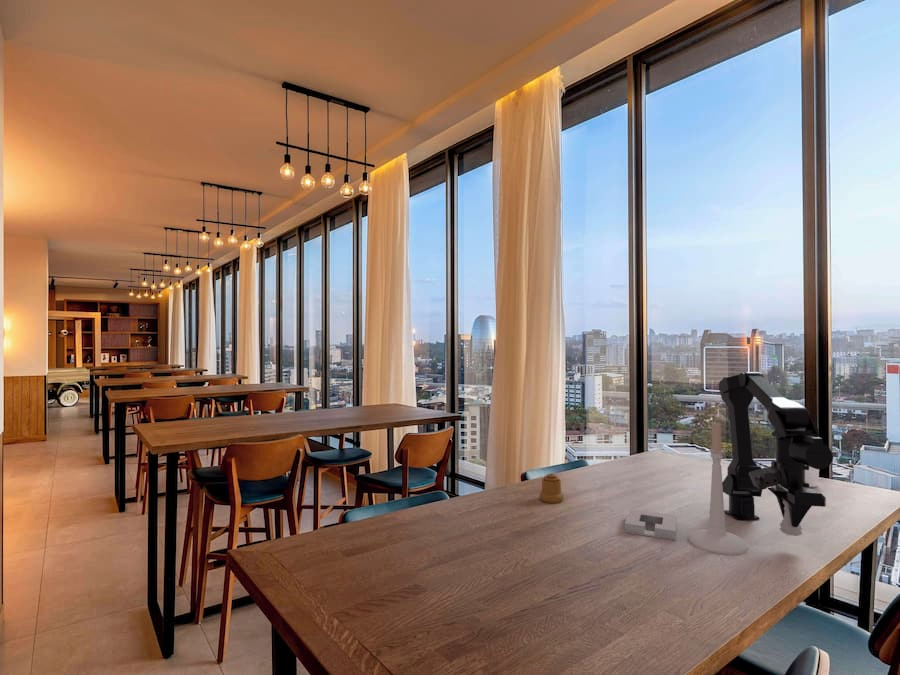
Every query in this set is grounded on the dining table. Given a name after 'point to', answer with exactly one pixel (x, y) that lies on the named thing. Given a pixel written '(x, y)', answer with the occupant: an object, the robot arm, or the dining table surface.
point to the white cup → (812, 476)
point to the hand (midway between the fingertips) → (790, 523)
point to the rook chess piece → (789, 523)
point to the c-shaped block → (651, 524)
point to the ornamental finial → (551, 489)
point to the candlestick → (717, 510)
